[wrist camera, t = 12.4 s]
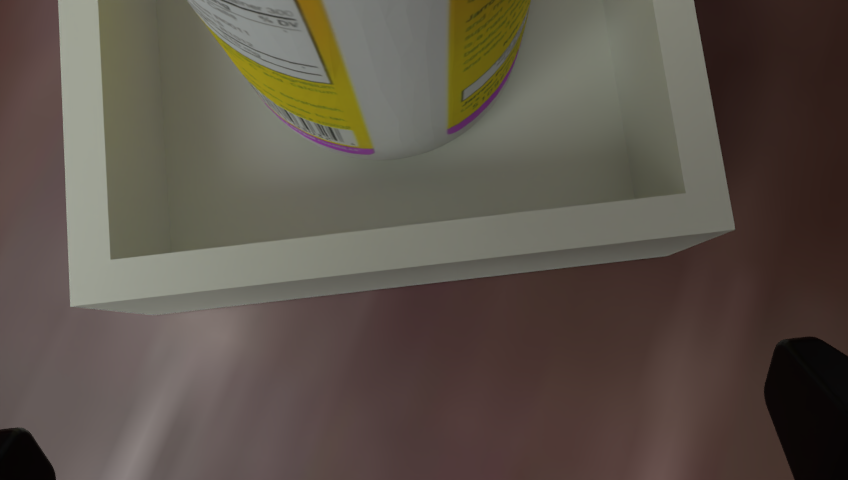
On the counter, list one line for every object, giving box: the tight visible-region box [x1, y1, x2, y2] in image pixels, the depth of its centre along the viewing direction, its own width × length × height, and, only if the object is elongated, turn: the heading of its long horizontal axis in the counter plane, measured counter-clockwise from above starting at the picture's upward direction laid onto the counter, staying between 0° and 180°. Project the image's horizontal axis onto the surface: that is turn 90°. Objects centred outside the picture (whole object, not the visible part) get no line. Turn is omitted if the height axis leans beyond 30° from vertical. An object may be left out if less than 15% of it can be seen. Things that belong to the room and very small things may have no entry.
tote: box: [58, 0, 735, 315], centre depth 16 cm, size 13×13×4 cm
